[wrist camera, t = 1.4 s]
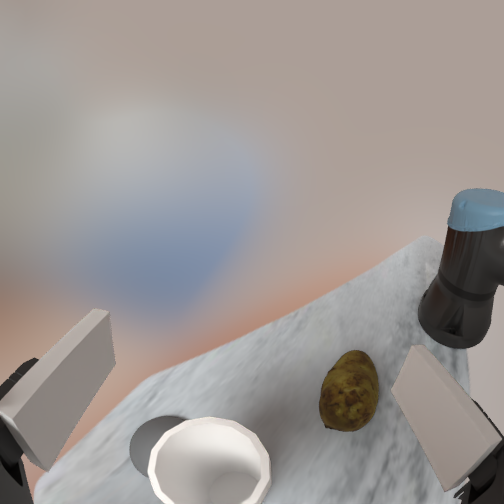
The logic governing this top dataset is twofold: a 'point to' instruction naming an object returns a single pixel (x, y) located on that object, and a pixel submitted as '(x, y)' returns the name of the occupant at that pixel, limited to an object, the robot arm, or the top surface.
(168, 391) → the top surface
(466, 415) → the robot arm
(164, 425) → the coaster
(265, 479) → the foam cup
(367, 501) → the top surface
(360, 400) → the potato
